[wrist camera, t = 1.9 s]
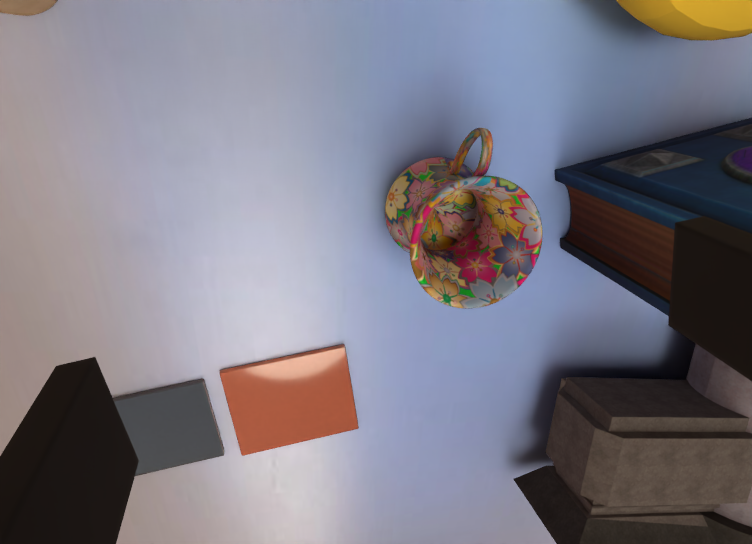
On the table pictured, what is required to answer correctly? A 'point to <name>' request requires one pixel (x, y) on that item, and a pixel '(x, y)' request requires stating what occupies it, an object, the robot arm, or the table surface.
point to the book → (656, 203)
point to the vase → (694, 17)
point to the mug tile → (290, 399)
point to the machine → (649, 459)
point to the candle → (25, 6)
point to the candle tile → (170, 426)
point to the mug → (464, 227)
